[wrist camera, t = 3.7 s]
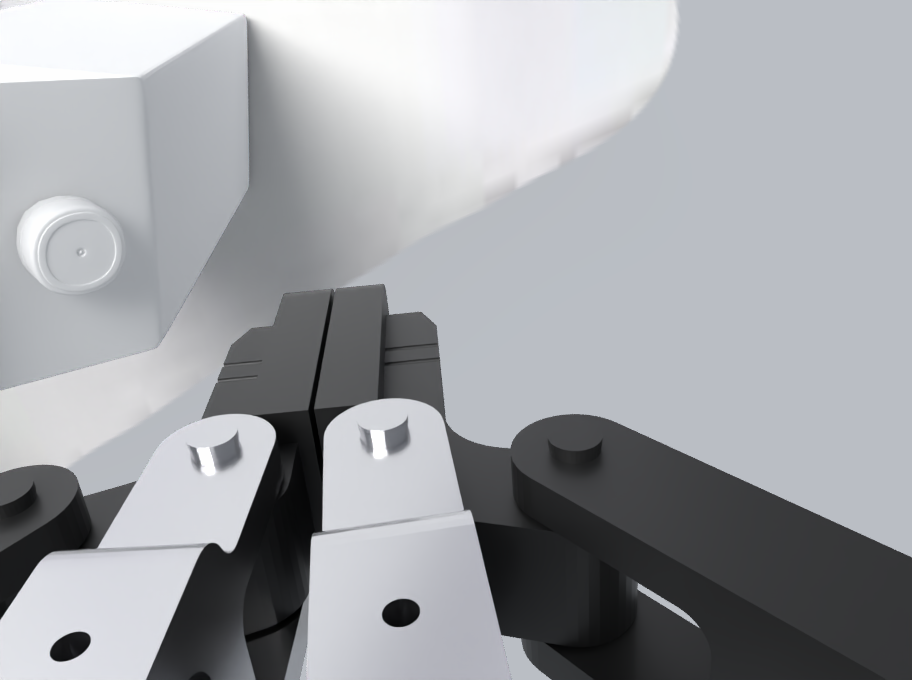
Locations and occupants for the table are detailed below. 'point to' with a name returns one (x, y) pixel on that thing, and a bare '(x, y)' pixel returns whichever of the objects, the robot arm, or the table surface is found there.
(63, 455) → the table surface
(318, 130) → the table surface
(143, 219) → the milk carton
